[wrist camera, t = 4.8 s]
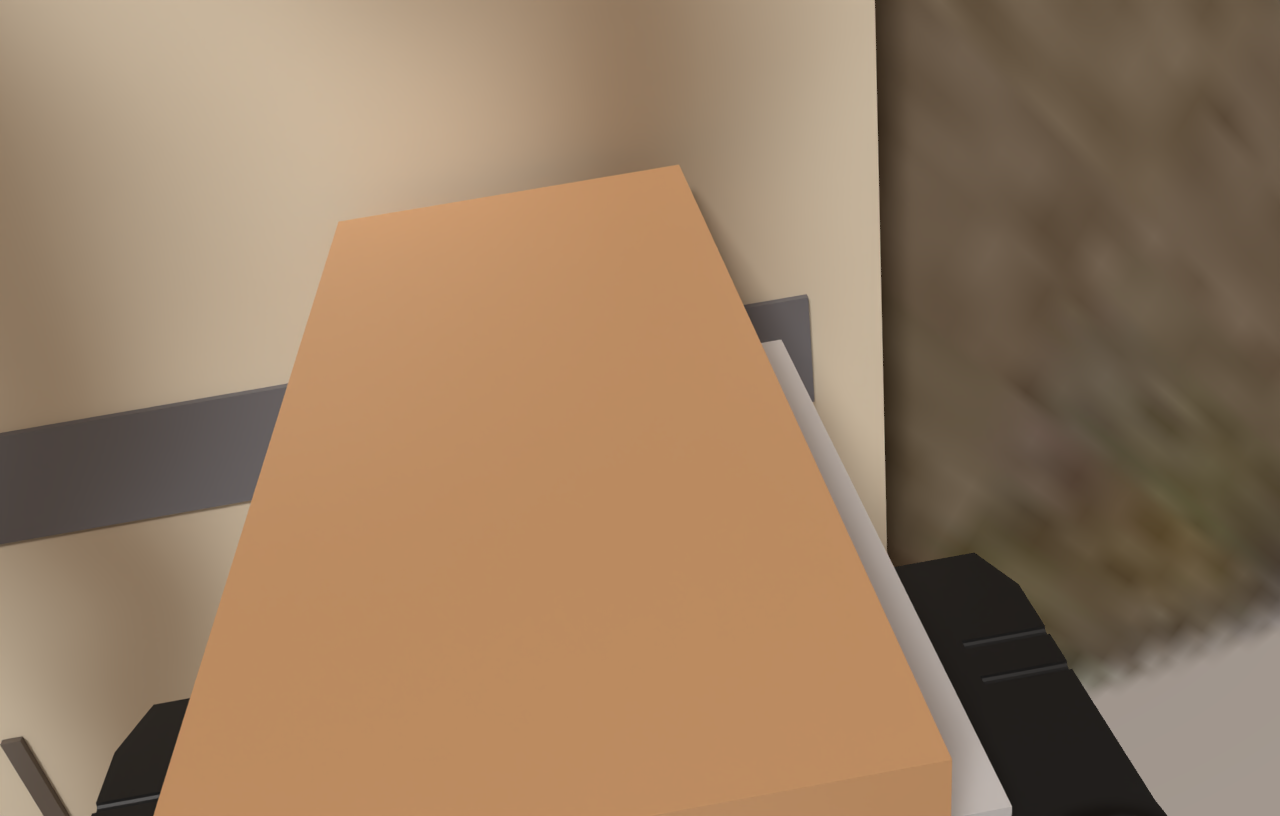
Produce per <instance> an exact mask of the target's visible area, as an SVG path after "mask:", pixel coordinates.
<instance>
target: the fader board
mask: <svg viewBox="0 0 1280 816" xmlns="http://www.w3.org/2000/svg"><path fill="white" fill-rule="evenodd" d="M673 165H679V166H680V168H681V170H682V172H683V174H684V176H685V179H686V181H687V183H688V185H689V187H690V190H691V192H692V194H693V196H694V198H695V200H696V203H697V205H698V207H699V209H700V211H701V214H702V216H703V218H704V220H705V222H706V224H707V227H708V229H709V231H710V233H711V235H712V237H713V240H714V242H715V244H716V246H717V248H718V251H719V253H720V255H721V257H722V259H723V261H724V264H725V266H726V268H727V270H728V272H729V275H730V277H731V279H732V281H733V283H734V285H735V288H736V290H737V292H738V294H739V296H740V298H741V301H742V303H743V305H744V307H745V309H746V312H747V314H748V316H749V318H750V320H751V322H752V325H753V327H754V329H755V331H756V333H757V336H758V338H759V340H760V342H761V343H764V342H770V341H776V340H782V342H783V344H784V346H785V348H786V350H787V352H788V354H789V356H790V358H791V360H792V362H793V364H794V366H795V368H796V370H797V372H798V374H799V376H800V378H801V380H802V382H803V384H804V386H805V388H806V390H807V392H808V394H809V396H810V398H811V400H812V402H813V404H814V406H815V408H816V410H817V413H818V415H819V417H820V419H821V421H822V423H823V425H824V427H825V429H826V431H827V433H828V435H829V437H830V439H831V441H832V443H833V445H834V447H835V449H836V451H837V453H838V455H839V457H840V459H841V461H842V463H843V465H844V467H845V469H846V471H847V473H848V475H849V477H850V479H851V481H852V483H853V485H854V487H855V489H856V491H857V494H858V496H859V498H860V500H861V502H862V504H863V506H864V508H865V510H866V512H867V514H868V516H869V518H870V520H871V522H872V524H873V526H874V528H875V530H876V532H877V534H878V536H879V538H880V540H881V542H882V544H883V546H884V548H885V550H886V552H887V529H886V484H885V439H884V393H883V348H882V303H881V258H880V212H879V167H878V122H877V77H876V31H875V0H0V816H91V815H92V813H96V811H97V806H96V801H97V798H98V796H99V793H100V790H101V788H102V785H103V782H104V780H105V777H106V774H107V771H108V769H109V766H110V763H111V761H112V758H113V755H114V752H115V751H116V750H117V749H118V748H119V746H120V745H121V744H122V743H123V741H124V740H125V739H126V738H127V736H128V735H129V734H130V733H131V732H132V730H133V729H134V728H135V727H136V725H137V724H138V723H139V722H140V720H141V719H142V718H143V717H144V716H145V714H146V713H147V712H148V711H149V709H150V708H151V707H152V706H153V705H154V704H160V703H165V702H171V701H176V700H182V699H187V698H190V697H191V693H192V690H193V687H194V684H195V680H196V677H197V674H198V671H199V668H200V664H201V661H202V658H203V655H204V652H205V648H206V645H207V642H208V639H209V636H210V632H211V629H212V626H213V623H214V619H215V616H216V613H217V610H218V607H219V603H220V600H221V597H222V594H223V591H224V587H225V584H226V581H227V578H228V575H229V571H230V568H231V565H232V562H233V558H234V555H235V552H236V549H237V546H238V542H239V539H240V536H241V533H242V530H243V526H244V523H245V520H246V517H247V514H248V510H249V507H250V504H251V501H252V498H253V494H254V491H255V488H256V485H257V481H258V478H259V475H260V472H261V469H262V465H263V462H264V459H265V456H266V453H267V449H268V446H269V443H270V440H271V437H272V433H273V430H274V427H275V424H276V420H277V417H278V414H279V411H280V408H281V404H282V401H283V398H284V395H285V392H286V388H287V385H288V382H289V379H290V376H291V372H292V369H293V366H294V363H295V359H296V356H297V353H298V350H299V347H300V343H301V340H302V337H303V334H304V331H305V327H306V324H307V321H308V318H309V315H310V311H311V308H312V305H313V302H314V299H315V295H316V292H317V289H318V286H319V282H320V279H321V276H322V273H323V270H324V266H325V263H326V260H327V257H328V254H329V250H330V247H331V244H332V241H333V238H334V234H335V231H336V228H337V225H338V222H339V221H345V220H351V219H357V218H363V217H369V216H375V215H381V214H387V213H393V212H399V211H405V210H411V209H417V208H423V207H429V206H435V205H441V204H447V203H453V202H459V201H465V200H471V199H476V198H482V197H488V196H494V195H500V194H506V193H512V192H518V191H524V190H530V189H536V188H542V187H548V186H554V185H560V184H566V183H572V182H578V181H584V180H590V179H596V178H602V177H608V176H614V175H620V174H626V173H632V172H638V171H644V170H650V169H655V168H661V167H667V166H673Z"/></svg>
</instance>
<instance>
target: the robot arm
mask: <svg viewBox="0 0 1280 816" xmlns="http://www.w3.org/2000/svg"><path fill="white" fill-rule="evenodd" d="M761 344H762V346H763V349H764V351H765V353H766V355H767V357H768V359H769V362H770V364H771V366H772V368H773V370H774V373H775V375H776V377H777V379H778V381H779V383H780V386H781V388H782V390H783V392H784V394H785V397H786V399H787V401H788V403H789V405H790V407H791V410H792V412H793V414H794V416H795V418H796V420H797V423H798V425H799V427H800V429H801V431H802V434H803V436H804V438H805V440H806V442H807V444H808V447H809V449H810V451H811V453H812V455H813V458H814V460H815V462H816V464H817V466H818V468H819V471H820V473H821V475H822V477H823V479H824V481H825V484H826V486H827V488H828V490H829V492H830V495H831V497H832V499H833V501H834V503H835V505H836V508H837V510H838V512H839V514H840V516H841V519H842V521H843V523H844V525H845V527H846V529H847V532H848V534H849V536H850V538H851V540H852V542H853V545H854V547H855V549H856V551H857V553H858V556H859V558H860V560H861V562H862V564H863V566H864V569H865V571H866V573H867V575H868V577H869V580H870V582H871V584H872V586H873V588H874V590H875V593H876V595H877V597H878V599H879V601H880V603H881V606H882V608H883V610H884V612H885V614H886V617H887V619H888V621H889V623H890V625H891V627H892V630H893V632H894V634H895V636H896V638H897V641H898V643H899V645H900V647H901V649H902V651H903V654H904V656H905V658H906V660H907V662H908V665H909V667H910V669H911V671H912V673H913V675H914V678H915V680H916V682H917V684H918V686H919V688H920V691H921V693H922V695H923V697H924V699H925V702H926V704H927V706H928V708H929V710H930V712H931V715H932V717H933V719H934V721H935V723H936V726H937V728H938V730H939V732H940V734H941V736H942V739H943V741H944V743H945V745H946V747H947V749H948V752H949V754H950V756H951V758H952V795H951V816H1167V815H1166V813H1165V812H1164V811H1163V810H1162V808H1161V807H1160V806H1159V805H1158V804H1157V802H1156V801H1155V799H1154V798H1153V796H1152V795H1151V793H1150V792H1149V790H1148V788H1147V787H1146V785H1145V784H1144V782H1143V781H1142V779H1141V777H1140V776H1139V774H1138V773H1137V771H1136V769H1135V768H1134V766H1133V765H1132V763H1131V762H1130V760H1129V758H1128V757H1127V755H1126V754H1125V752H1124V751H1123V749H1122V747H1121V746H1120V744H1119V742H1118V741H1117V739H1116V738H1115V736H1114V735H1113V733H1112V731H1111V730H1110V728H1109V727H1108V725H1107V724H1106V722H1105V720H1104V719H1103V717H1102V716H1101V714H1100V713H1099V711H1098V709H1097V708H1096V706H1095V705H1094V703H1093V701H1092V700H1091V698H1090V697H1089V695H1088V693H1087V692H1086V690H1085V689H1084V687H1083V686H1082V684H1081V682H1080V681H1079V679H1078V678H1077V676H1076V674H1075V673H1074V671H1073V670H1072V669H1070V670H1069V669H1068V666H1067V661H1066V659H1065V657H1064V656H1063V654H1062V652H1061V651H1060V649H1059V648H1058V646H1057V644H1056V643H1055V641H1054V640H1053V638H1052V637H1051V635H1050V634H1047V633H1046V631H1045V625H1044V624H1043V622H1042V621H1041V619H1040V618H1039V616H1038V614H1037V613H1036V611H1035V610H1034V608H1033V606H1032V605H1031V603H1030V602H1029V600H1028V599H1027V597H1026V595H1025V594H1024V592H1023V591H1022V589H1021V588H1020V586H1019V584H1017V583H1016V582H1015V581H1013V580H1012V579H1010V578H1009V577H1008V576H1006V575H1005V574H1003V573H1002V572H1001V571H999V570H998V569H996V568H995V567H994V566H992V565H991V564H989V563H988V562H987V561H985V560H984V559H982V558H981V557H980V556H978V555H977V554H975V553H970V554H965V555H959V556H954V557H948V558H942V559H937V560H931V561H926V562H920V563H915V564H909V565H904V566H898V567H894V566H893V564H892V562H891V560H890V558H889V556H888V554H887V552H886V550H885V548H884V546H883V544H882V542H881V540H880V538H879V536H878V534H877V532H876V530H875V528H874V526H873V524H872V522H871V520H870V518H869V516H868V514H867V512H866V510H865V508H864V506H863V504H862V502H861V500H860V498H859V496H858V494H857V491H856V489H855V487H854V485H853V483H852V481H851V479H850V477H849V475H848V473H847V471H846V469H845V467H844V465H843V463H842V461H841V459H840V457H839V455H838V453H837V451H836V449H835V447H834V445H833V443H832V441H831V439H830V437H829V435H828V433H827V431H826V429H825V427H824V425H823V423H822V421H821V419H820V417H819V415H818V413H817V410H816V408H815V406H814V404H813V402H812V400H811V398H810V396H809V394H808V392H807V390H806V388H805V386H804V384H803V382H802V380H801V378H800V376H799V374H798V372H797V370H796V368H795V366H794V364H793V362H792V360H791V358H790V356H789V354H788V352H787V350H786V348H785V346H784V344H783V342H782V340H776V341H770V342H764V343H761ZM189 700H190V698H187V699H182V700H176V701H171V702H165V703H160V704H154V705H153V706H152V707H151V708H150V709H149V711H148V712H147V713H146V714H145V716H144V717H143V718H142V719H141V720H140V722H139V723H138V724H137V725H136V727H135V728H134V729H133V730H132V732H131V733H130V734H129V735H128V736H127V738H126V739H125V740H124V741H123V743H122V744H121V745H120V746H119V748H118V749H117V750H116V751H115V752H114V755H113V758H112V761H111V763H110V766H109V769H108V771H107V774H106V777H105V780H104V782H103V785H102V788H101V790H100V793H99V796H98V798H97V801H96V806H97V811H96V813H92V815H91V816H153V815H154V812H155V809H156V806H157V802H158V799H159V796H160V793H161V790H162V786H163V783H164V780H165V777H166V774H167V770H168V767H169V764H170V761H171V757H172V754H173V751H174V748H175V745H176V741H177V738H178V735H179V732H180V729H181V725H182V722H183V719H184V716H185V713H186V709H187V706H188V703H189Z"/></svg>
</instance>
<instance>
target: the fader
mask: <svg viewBox="0 0 1280 816" xmlns="http://www.w3.org/2000/svg"><path fill="white" fill-rule="evenodd" d="M951 795H952V758H951V756H950V754H949V752H948V749H947V747H946V745H945V743H944V741H943V739H942V736H941V734H940V732H939V730H938V728H937V726H936V723H935V721H934V719H933V717H932V715H931V712H930V710H929V708H928V706H927V704H926V702H925V699H924V697H923V695H922V693H921V691H920V688H919V686H918V684H917V682H916V680H915V678H914V675H913V673H912V671H911V669H910V667H909V665H908V662H907V660H906V658H905V656H904V654H903V651H902V649H901V647H900V645H899V643H898V641H897V638H896V636H895V634H894V632H893V630H892V627H891V625H890V623H889V621H888V619H887V617H886V614H885V612H884V610H883V608H882V606H881V603H880V601H879V599H878V597H877V595H876V593H875V590H874V588H873V586H872V584H871V582H870V580H869V577H868V575H867V573H866V571H865V569H864V566H863V564H862V562H861V560H860V558H859V556H858V553H857V551H856V549H855V547H854V545H853V542H852V540H851V538H850V536H849V534H848V532H847V529H846V527H845V525H844V523H843V521H842V519H841V516H840V514H839V512H838V510H837V508H836V505H835V503H834V501H833V499H832V497H831V495H830V492H829V490H828V488H827V486H826V484H825V481H824V479H823V477H822V475H821V473H820V471H819V468H818V466H817V464H816V462H815V460H814V458H813V455H812V453H811V451H810V449H809V447H808V444H807V442H806V440H805V438H804V436H803V434H802V431H801V429H800V427H799V425H798V423H797V420H796V418H795V416H794V414H793V412H792V410H791V407H790V405H789V403H788V401H787V399H786V397H785V394H784V392H783V390H782V388H781V386H780V383H779V381H778V379H777V377H776V375H775V373H774V370H773V368H772V366H771V364H770V362H769V359H768V357H767V355H766V353H765V351H764V349H763V346H762V344H761V342H760V340H759V338H758V336H757V333H756V331H755V329H754V327H753V325H752V322H751V320H750V318H749V316H748V314H747V312H746V309H745V307H744V305H743V303H742V301H741V298H740V296H739V294H738V292H737V290H736V288H735V285H734V283H733V281H732V279H731V277H730V275H729V272H728V270H727V268H726V266H725V264H724V261H723V259H722V257H721V255H720V253H719V251H718V248H717V246H716V244H715V242H714V240H713V237H712V235H711V233H710V231H709V229H708V227H707V224H706V222H705V220H704V218H703V216H702V214H701V211H700V209H699V207H698V205H697V203H696V200H695V198H694V196H693V194H692V192H691V190H690V187H689V185H688V183H687V181H686V179H685V176H684V174H683V172H682V170H681V168H680V166H679V165H673V166H667V167H661V168H655V169H650V170H644V171H638V172H632V173H626V174H620V175H614V176H608V177H602V178H596V179H590V180H584V181H578V182H572V183H566V184H560V185H554V186H548V187H542V188H536V189H530V190H524V191H518V192H512V193H506V194H500V195H494V196H488V197H482V198H476V199H471V200H465V201H459V202H453V203H447V204H441V205H435V206H429V207H423V208H417V209H411V210H405V211H399V212H393V213H387V214H381V215H375V216H369V217H363V218H357V219H351V220H345V221H339V222H338V225H337V228H336V231H335V234H334V238H333V241H332V244H331V247H330V250H329V254H328V257H327V260H326V263H325V266H324V270H323V273H322V276H321V279H320V282H319V286H318V289H317V292H316V295H315V299H314V302H313V305H312V308H311V311H310V315H309V318H308V321H307V324H306V327H305V331H304V334H303V337H302V340H301V343H300V347H299V350H298V353H297V356H296V359H295V363H294V366H293V369H292V372H291V376H290V379H289V382H288V385H287V388H286V392H285V395H284V398H283V401H282V404H281V408H280V411H279V414H278V417H277V420H276V424H275V427H274V430H273V433H272V437H271V440H270V443H269V446H268V449H267V453H266V456H265V459H264V462H263V465H262V469H261V472H260V475H259V478H258V481H257V485H256V488H255V491H254V494H253V498H252V501H251V504H250V507H249V510H248V514H247V517H246V520H245V523H244V526H243V530H242V533H241V536H240V539H239V542H238V546H237V549H236V552H235V555H234V558H233V562H232V565H231V568H230V571H229V575H228V578H227V581H226V584H225V587H224V591H223V594H222V597H221V600H220V603H219V607H218V610H217V613H216V616H215V619H214V623H213V626H212V629H211V632H210V636H209V639H208V642H207V645H206V648H205V652H204V655H203V658H202V661H201V664H200V668H199V671H198V674H197V677H196V680H195V684H194V687H193V690H192V693H191V697H190V700H189V703H188V706H187V709H186V713H185V716H184V719H183V722H182V725H181V729H180V732H179V735H178V738H177V741H176V745H175V748H174V751H173V754H172V757H171V761H170V764H169V767H168V770H167V774H166V777H165V780H164V783H163V786H162V790H161V793H160V796H159V799H158V802H157V806H156V809H155V812H154V815H153V816H951Z"/></svg>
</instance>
